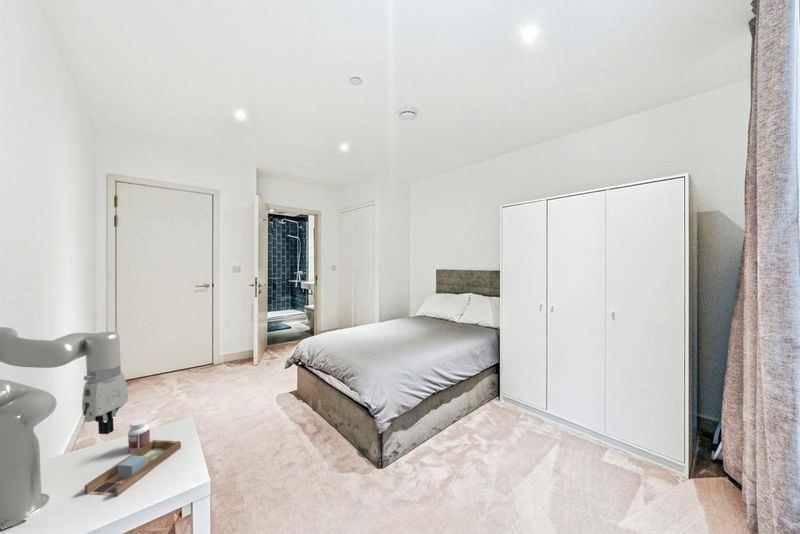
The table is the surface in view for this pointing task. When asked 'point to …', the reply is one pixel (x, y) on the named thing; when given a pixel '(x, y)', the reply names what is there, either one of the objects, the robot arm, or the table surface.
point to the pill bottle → (138, 435)
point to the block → (131, 466)
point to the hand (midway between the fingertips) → (106, 432)
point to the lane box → (117, 485)
